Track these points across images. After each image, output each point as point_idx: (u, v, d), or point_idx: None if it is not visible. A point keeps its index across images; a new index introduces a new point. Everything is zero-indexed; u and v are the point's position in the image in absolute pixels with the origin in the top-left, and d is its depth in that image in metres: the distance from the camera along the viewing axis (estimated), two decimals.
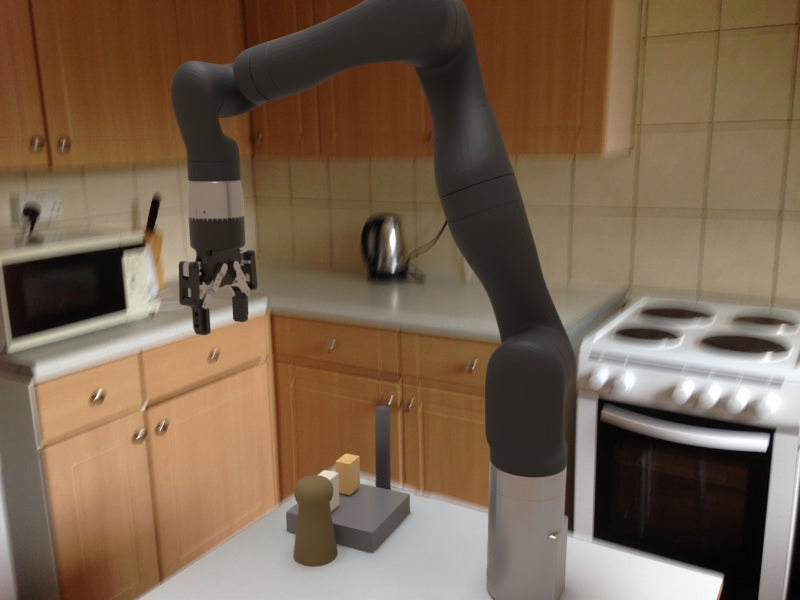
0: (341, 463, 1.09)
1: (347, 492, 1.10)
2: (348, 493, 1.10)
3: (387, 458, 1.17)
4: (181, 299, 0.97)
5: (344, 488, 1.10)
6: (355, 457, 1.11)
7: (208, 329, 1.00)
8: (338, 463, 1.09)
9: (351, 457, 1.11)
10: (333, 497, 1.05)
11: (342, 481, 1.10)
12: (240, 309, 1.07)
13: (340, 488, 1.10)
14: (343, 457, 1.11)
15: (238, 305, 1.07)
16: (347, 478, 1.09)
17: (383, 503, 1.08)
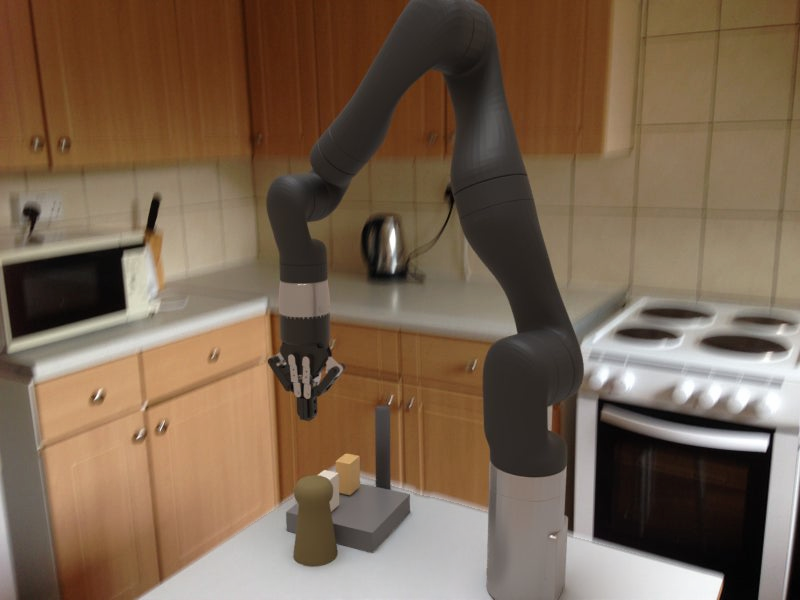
0: (341, 463, 1.09)
1: (347, 492, 1.10)
2: (348, 493, 1.10)
3: (387, 458, 1.17)
4: (321, 393, 1.09)
5: (344, 488, 1.10)
6: (355, 457, 1.11)
7: None
8: (338, 463, 1.09)
9: (351, 457, 1.11)
10: (333, 497, 1.05)
11: (342, 481, 1.10)
12: None
13: (340, 488, 1.10)
14: (343, 457, 1.11)
15: None
16: (347, 478, 1.09)
17: (383, 503, 1.08)
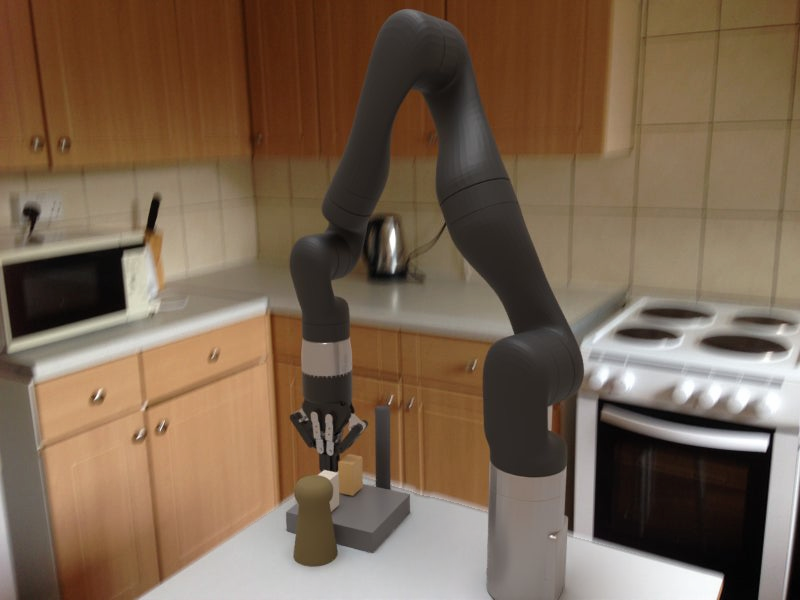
0: (343, 463, 1.09)
1: (350, 493, 1.10)
2: (351, 494, 1.10)
3: (387, 458, 1.17)
4: (344, 450, 1.09)
5: (346, 489, 1.10)
6: (358, 458, 1.11)
7: None
8: (341, 463, 1.09)
9: (354, 458, 1.11)
10: (333, 497, 1.05)
11: (345, 481, 1.10)
12: None
13: (343, 489, 1.10)
14: (346, 458, 1.11)
15: None
16: (350, 479, 1.09)
17: (383, 503, 1.08)
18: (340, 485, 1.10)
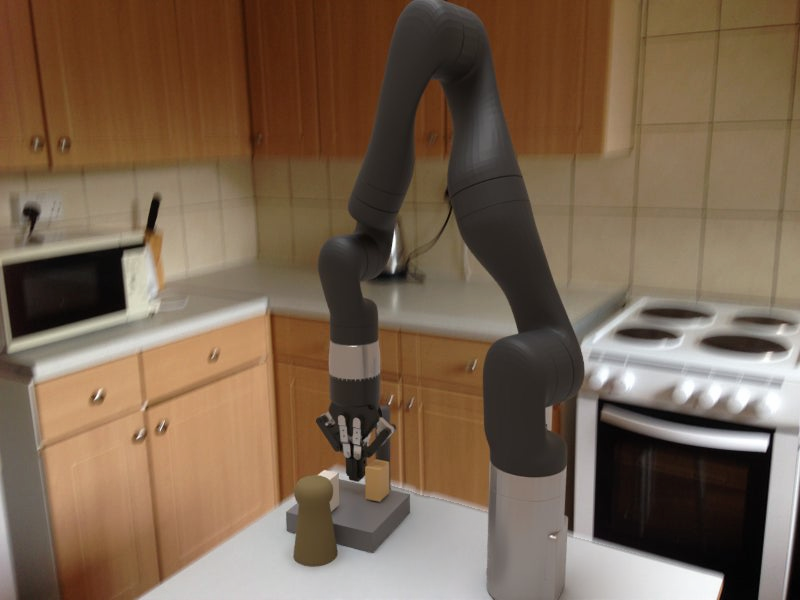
0: (371, 469, 1.07)
1: (377, 499, 1.08)
2: (378, 500, 1.08)
3: (387, 458, 1.17)
4: (372, 454, 1.07)
5: (373, 494, 1.08)
6: (385, 463, 1.09)
7: None
8: (368, 469, 1.07)
9: (381, 463, 1.09)
10: (333, 497, 1.05)
11: (372, 487, 1.08)
12: None
13: (370, 494, 1.08)
14: (372, 463, 1.09)
15: None
16: (377, 485, 1.07)
17: (383, 503, 1.08)
18: (367, 491, 1.08)
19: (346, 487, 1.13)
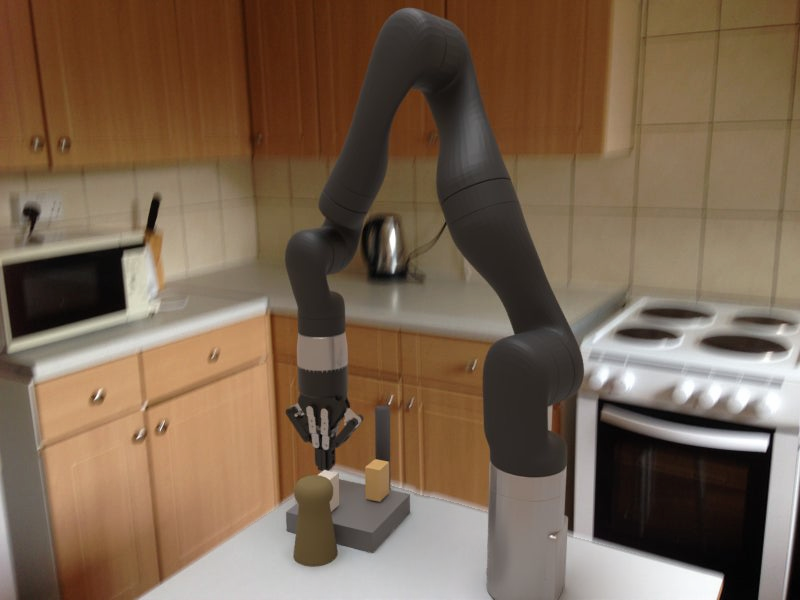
0: (371, 469, 1.07)
1: (377, 499, 1.08)
2: (378, 500, 1.08)
3: (387, 458, 1.17)
4: (340, 444, 1.10)
5: (373, 494, 1.08)
6: (385, 463, 1.09)
7: None
8: (368, 469, 1.07)
9: (381, 463, 1.09)
10: (333, 497, 1.05)
11: (372, 487, 1.08)
12: None
13: (370, 494, 1.08)
14: (372, 463, 1.09)
15: None
16: (377, 485, 1.07)
17: (383, 503, 1.08)
18: (367, 491, 1.08)
19: (346, 487, 1.13)
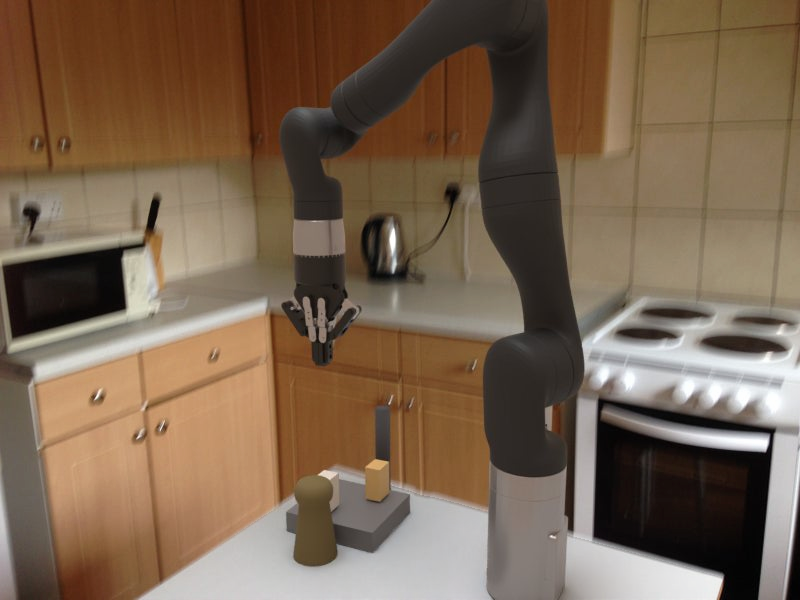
0: (371, 469, 1.07)
1: (377, 499, 1.08)
2: (378, 500, 1.08)
3: (387, 458, 1.17)
4: (337, 336, 1.06)
5: (373, 494, 1.08)
6: (385, 463, 1.09)
7: None
8: (368, 469, 1.07)
9: (381, 463, 1.09)
10: (333, 497, 1.05)
11: (372, 487, 1.08)
12: None
13: (370, 494, 1.08)
14: (372, 463, 1.09)
15: None
16: (377, 485, 1.07)
17: (383, 503, 1.08)
18: (367, 491, 1.08)
19: (346, 487, 1.13)
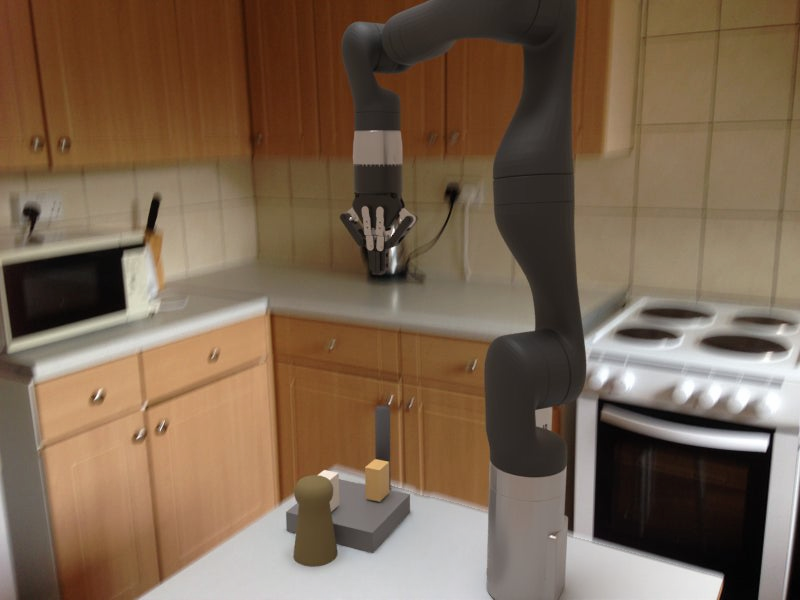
0: (371, 469, 1.07)
1: (377, 499, 1.08)
2: (378, 500, 1.08)
3: (387, 458, 1.17)
4: (394, 244, 1.12)
5: (373, 494, 1.08)
6: (385, 463, 1.09)
7: None
8: (368, 469, 1.07)
9: (381, 463, 1.09)
10: (333, 497, 1.05)
11: (372, 487, 1.08)
12: None
13: (370, 494, 1.08)
14: (372, 463, 1.09)
15: None
16: (377, 485, 1.07)
17: (383, 503, 1.08)
18: (367, 491, 1.08)
19: (346, 487, 1.13)
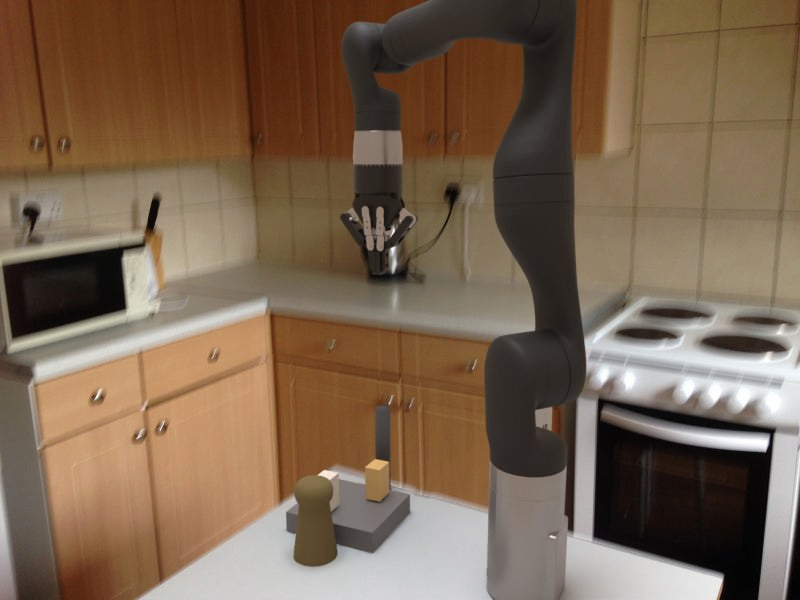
0: (371, 469, 1.07)
1: (377, 499, 1.08)
2: (378, 500, 1.08)
3: (387, 458, 1.17)
4: (395, 244, 1.12)
5: (373, 494, 1.08)
6: (385, 463, 1.09)
7: None
8: (368, 469, 1.07)
9: (381, 463, 1.09)
10: (333, 497, 1.05)
11: (372, 487, 1.08)
12: None
13: (370, 494, 1.08)
14: (372, 463, 1.09)
15: None
16: (377, 485, 1.07)
17: (383, 503, 1.08)
18: (367, 491, 1.08)
19: (346, 487, 1.13)
